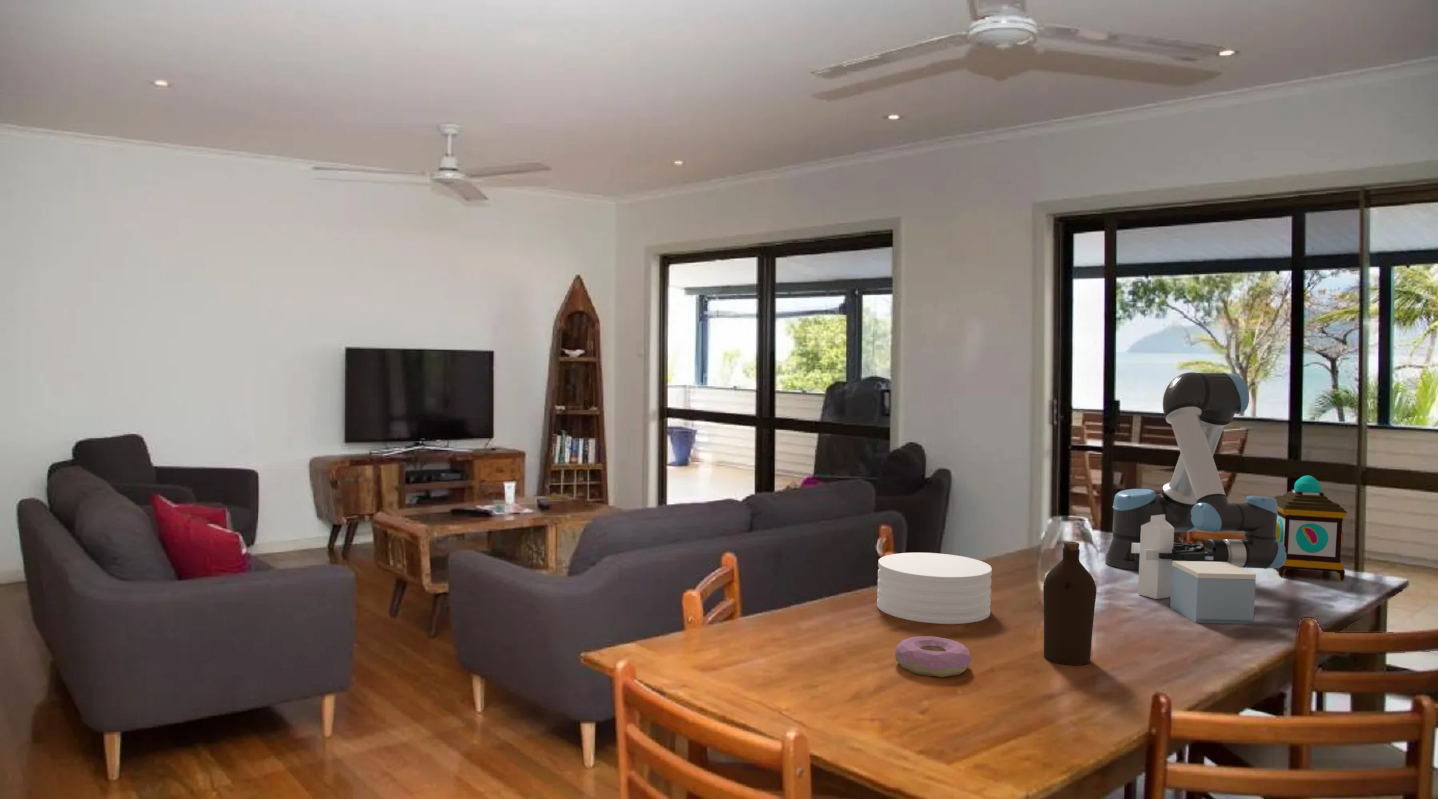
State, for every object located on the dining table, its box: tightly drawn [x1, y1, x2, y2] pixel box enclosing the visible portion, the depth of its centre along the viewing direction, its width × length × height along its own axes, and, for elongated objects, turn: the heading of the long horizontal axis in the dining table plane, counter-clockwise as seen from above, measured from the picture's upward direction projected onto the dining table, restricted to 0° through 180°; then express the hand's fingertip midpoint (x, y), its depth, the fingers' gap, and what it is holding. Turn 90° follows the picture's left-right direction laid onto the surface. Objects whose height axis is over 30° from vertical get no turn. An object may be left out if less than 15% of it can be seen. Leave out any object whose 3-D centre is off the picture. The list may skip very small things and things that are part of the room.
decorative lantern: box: [1274, 475, 1348, 582], centre depth 299 cm, size 20×20×30 cm
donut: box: [894, 635, 972, 678], centre depth 203 cm, size 16×15×5 cm
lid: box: [1172, 561, 1257, 580], centre depth 248 cm, size 14×14×1 cm
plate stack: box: [876, 552, 993, 625], centre depth 249 cm, size 28×28×12 cm
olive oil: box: [1042, 540, 1097, 666], centre depth 210 cm, size 11×11×25 cm
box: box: [1169, 566, 1257, 625], centre depth 248 cm, size 14×14×11 cm
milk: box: [1137, 515, 1175, 600], centre depth 267 cm, size 6×6×22 cm
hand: (1138, 551), depth 267 cm, fingers closed on milk, 8 cm apart
